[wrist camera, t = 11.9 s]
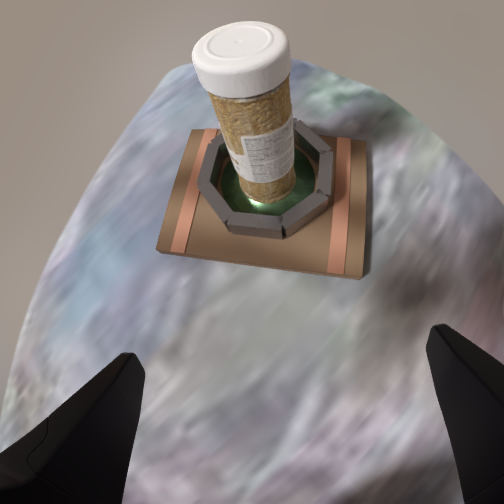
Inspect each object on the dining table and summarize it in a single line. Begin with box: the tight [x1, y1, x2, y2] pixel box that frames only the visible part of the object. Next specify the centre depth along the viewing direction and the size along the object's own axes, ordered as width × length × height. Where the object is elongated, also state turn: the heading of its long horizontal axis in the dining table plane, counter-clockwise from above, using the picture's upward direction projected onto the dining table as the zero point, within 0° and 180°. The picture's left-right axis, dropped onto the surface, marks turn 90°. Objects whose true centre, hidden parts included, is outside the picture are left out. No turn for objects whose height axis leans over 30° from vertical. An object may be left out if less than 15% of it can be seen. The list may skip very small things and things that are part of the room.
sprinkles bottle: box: [192, 21, 296, 204], centre depth 17 cm, size 5×5×13 cm
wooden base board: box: [156, 129, 367, 280], centre depth 24 cm, size 12×16×1 cm
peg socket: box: [197, 118, 333, 240], centre depth 23 cm, size 10×10×2 cm
